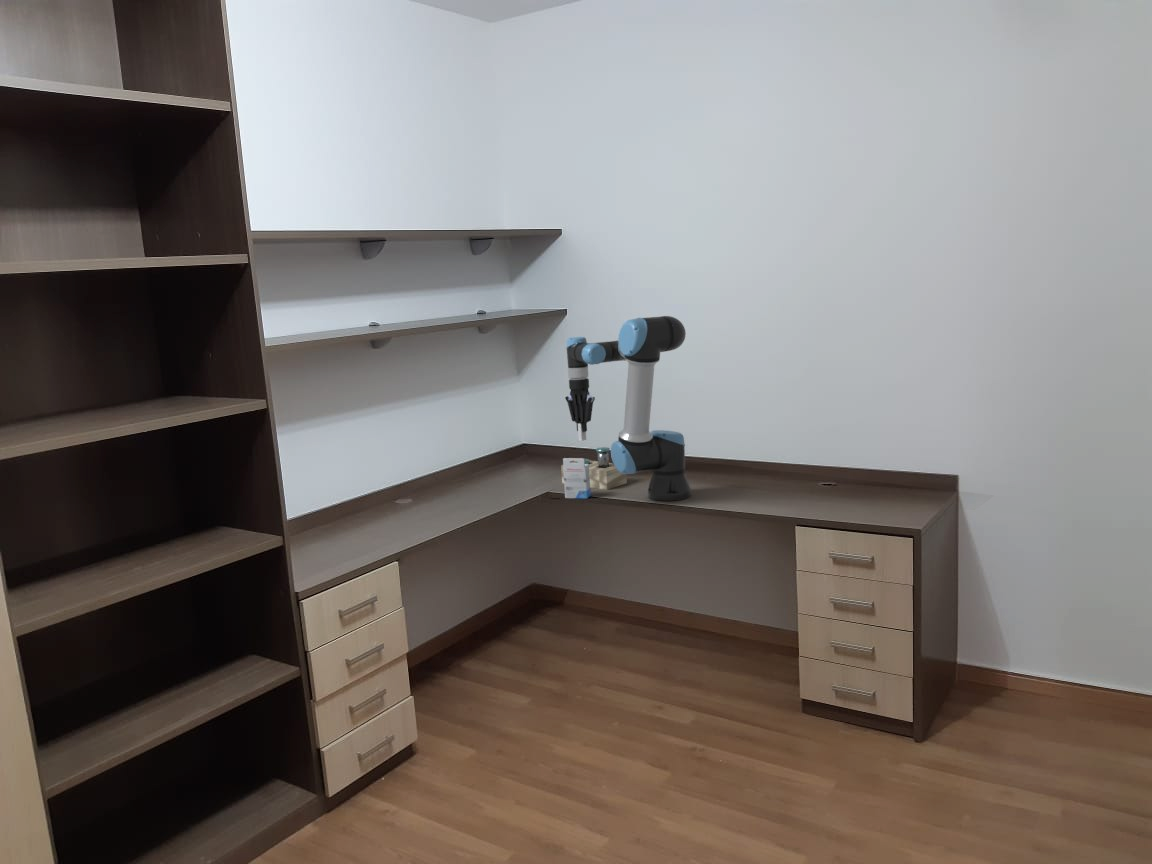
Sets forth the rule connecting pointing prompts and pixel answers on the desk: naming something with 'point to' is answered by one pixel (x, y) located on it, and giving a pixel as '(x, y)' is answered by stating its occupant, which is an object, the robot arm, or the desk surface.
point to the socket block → (603, 476)
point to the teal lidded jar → (585, 461)
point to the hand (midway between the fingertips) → (582, 440)
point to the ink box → (576, 478)
